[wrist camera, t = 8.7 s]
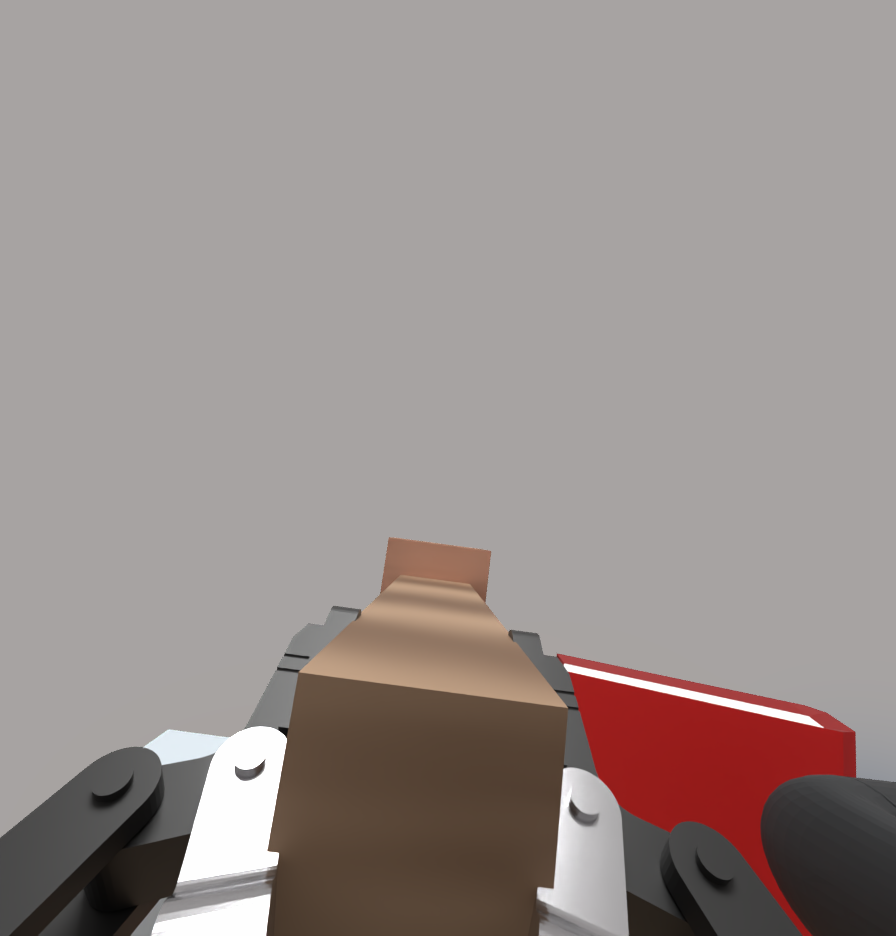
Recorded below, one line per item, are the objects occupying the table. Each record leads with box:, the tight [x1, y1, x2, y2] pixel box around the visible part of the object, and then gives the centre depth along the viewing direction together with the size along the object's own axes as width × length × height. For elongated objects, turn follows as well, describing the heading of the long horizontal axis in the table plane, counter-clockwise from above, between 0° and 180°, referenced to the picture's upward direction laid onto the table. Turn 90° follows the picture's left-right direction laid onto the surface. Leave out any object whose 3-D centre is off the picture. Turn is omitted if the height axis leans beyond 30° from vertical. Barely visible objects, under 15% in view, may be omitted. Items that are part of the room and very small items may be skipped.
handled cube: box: [267, 537, 568, 936], centre depth 19 cm, size 25×6×6 cm, turn 2°
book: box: [557, 654, 856, 936], centre depth 45 cm, size 27×8×32 cm, turn 71°
